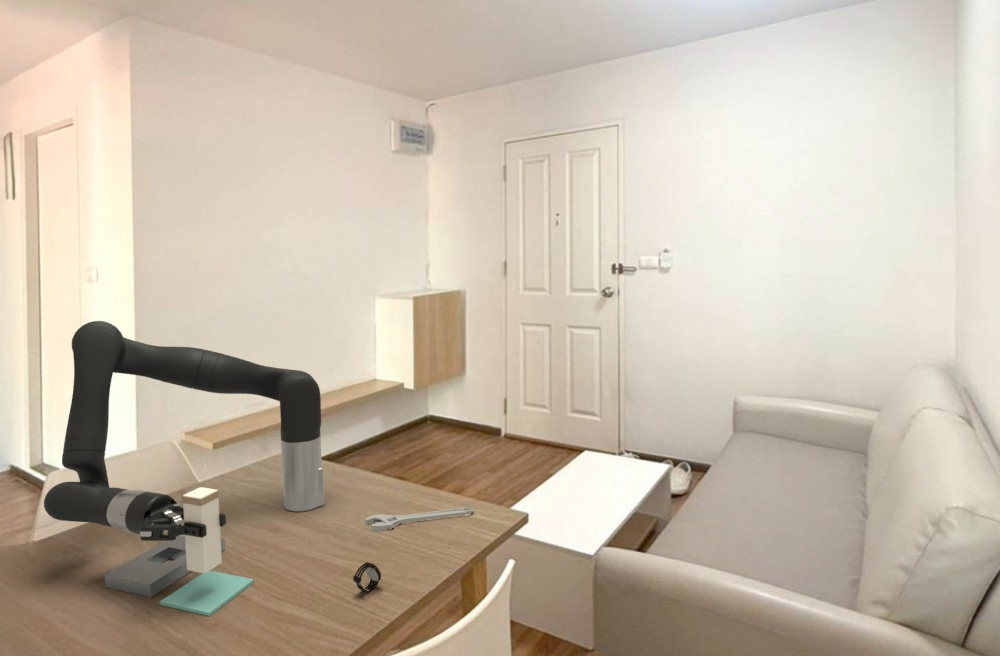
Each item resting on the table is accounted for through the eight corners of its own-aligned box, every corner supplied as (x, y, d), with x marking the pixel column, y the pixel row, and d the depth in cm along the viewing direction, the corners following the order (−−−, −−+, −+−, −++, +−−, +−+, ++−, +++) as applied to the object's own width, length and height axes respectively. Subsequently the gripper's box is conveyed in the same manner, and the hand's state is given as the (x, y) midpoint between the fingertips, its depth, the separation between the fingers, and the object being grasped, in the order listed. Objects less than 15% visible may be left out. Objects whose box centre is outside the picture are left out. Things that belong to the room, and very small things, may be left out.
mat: (207, 572, 114) (207, 570, 114) (254, 582, 111) (254, 579, 111) (159, 604, 104) (159, 601, 104) (209, 616, 101) (209, 612, 101)
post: (204, 558, 109) (200, 486, 108) (222, 562, 108) (218, 489, 106) (186, 569, 105) (182, 495, 104) (204, 573, 104) (200, 498, 102)
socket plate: (183, 542, 127) (183, 531, 126) (225, 549, 123) (224, 538, 123) (105, 587, 110) (104, 574, 109) (151, 597, 106) (149, 584, 106)
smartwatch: (383, 590, 108) (382, 565, 108) (356, 599, 105) (355, 573, 105) (375, 580, 112) (374, 555, 111) (349, 588, 109) (348, 563, 108)
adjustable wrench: (471, 512, 142) (471, 505, 142) (476, 524, 136) (476, 517, 136) (366, 521, 137) (366, 514, 137) (366, 534, 131) (366, 526, 131)
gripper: (104, 508, 103) (181, 522, 98) (172, 479, 116) (242, 490, 111) (107, 548, 104) (183, 565, 99) (174, 515, 117) (244, 528, 112)
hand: (214, 525), depth 105 cm, fingers closed on post, 4 cm apart
